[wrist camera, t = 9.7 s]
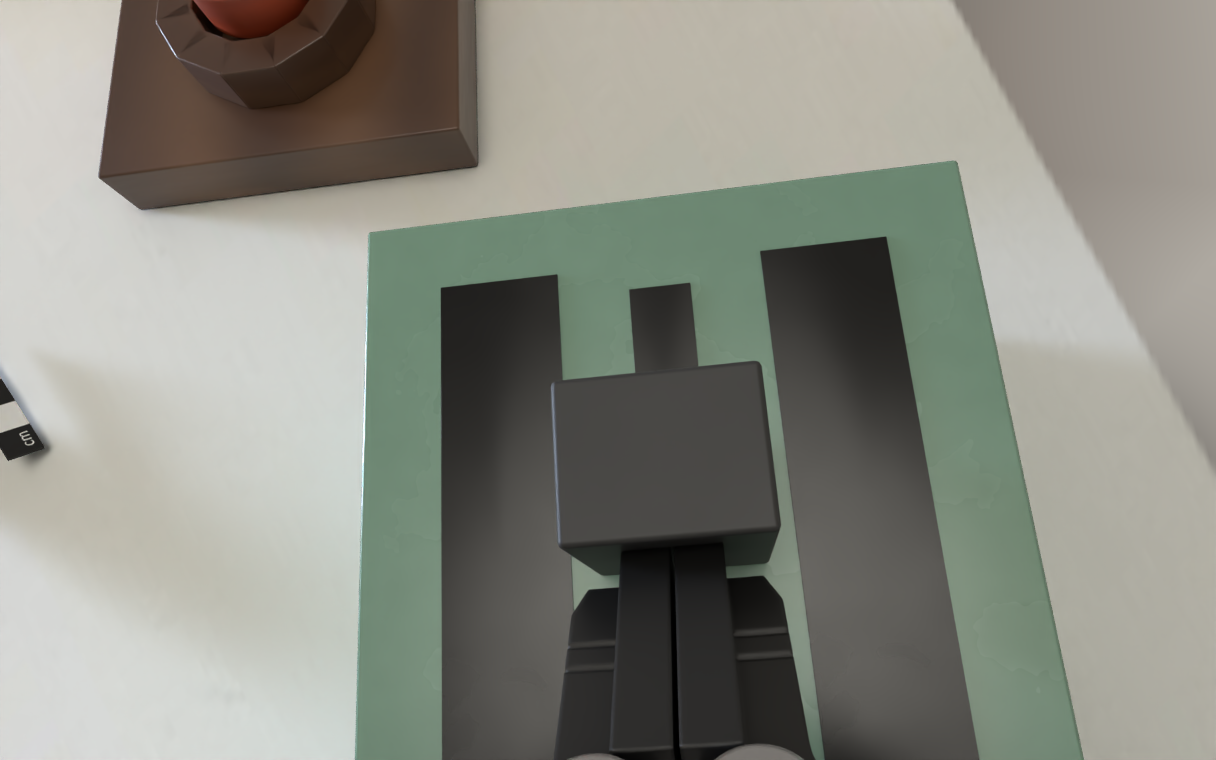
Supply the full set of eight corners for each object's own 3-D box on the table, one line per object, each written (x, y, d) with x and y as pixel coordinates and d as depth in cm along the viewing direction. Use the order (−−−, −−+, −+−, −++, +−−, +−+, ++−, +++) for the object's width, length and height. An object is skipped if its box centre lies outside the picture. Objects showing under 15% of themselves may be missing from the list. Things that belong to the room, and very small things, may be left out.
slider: (754, 429, 16) (761, 357, 12) (770, 563, 15) (782, 531, 12) (591, 444, 16) (549, 379, 13) (599, 576, 16) (556, 549, 12)
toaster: (883, 324, 26) (958, 157, 17) (976, 864, 21) (1136, 996, 13) (482, 366, 27) (366, 230, 19) (491, 883, 23) (345, 1014, 14)
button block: (474, -73, 32) (439, -170, 29) (478, 166, 29) (440, 93, 25) (166, -24, 34) (95, -110, 30) (140, 210, 31) (55, 147, 27)
